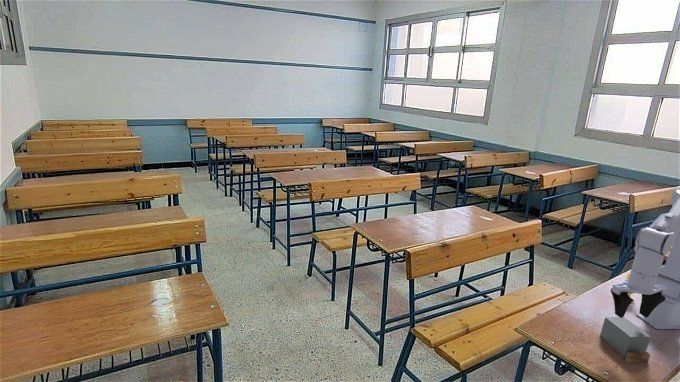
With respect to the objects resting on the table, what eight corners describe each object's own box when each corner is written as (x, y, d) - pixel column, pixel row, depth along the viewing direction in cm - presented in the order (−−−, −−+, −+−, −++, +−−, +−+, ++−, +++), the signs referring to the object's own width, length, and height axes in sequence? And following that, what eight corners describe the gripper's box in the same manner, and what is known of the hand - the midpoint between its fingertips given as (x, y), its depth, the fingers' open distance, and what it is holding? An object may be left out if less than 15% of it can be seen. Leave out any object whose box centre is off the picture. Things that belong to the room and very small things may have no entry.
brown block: (644, 359, 104) (647, 351, 103) (647, 362, 103) (650, 354, 102) (624, 360, 103) (627, 352, 103) (627, 362, 102) (630, 354, 102)
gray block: (618, 335, 114) (623, 316, 112) (644, 356, 105) (650, 336, 103) (599, 335, 113) (605, 317, 111) (624, 356, 104) (630, 337, 103)
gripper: (655, 264, 107) (642, 307, 111) (608, 264, 105) (596, 307, 109) (679, 277, 100) (664, 321, 104) (629, 277, 99) (616, 322, 102)
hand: (631, 315), depth 106 cm, fingers open, 7 cm apart
